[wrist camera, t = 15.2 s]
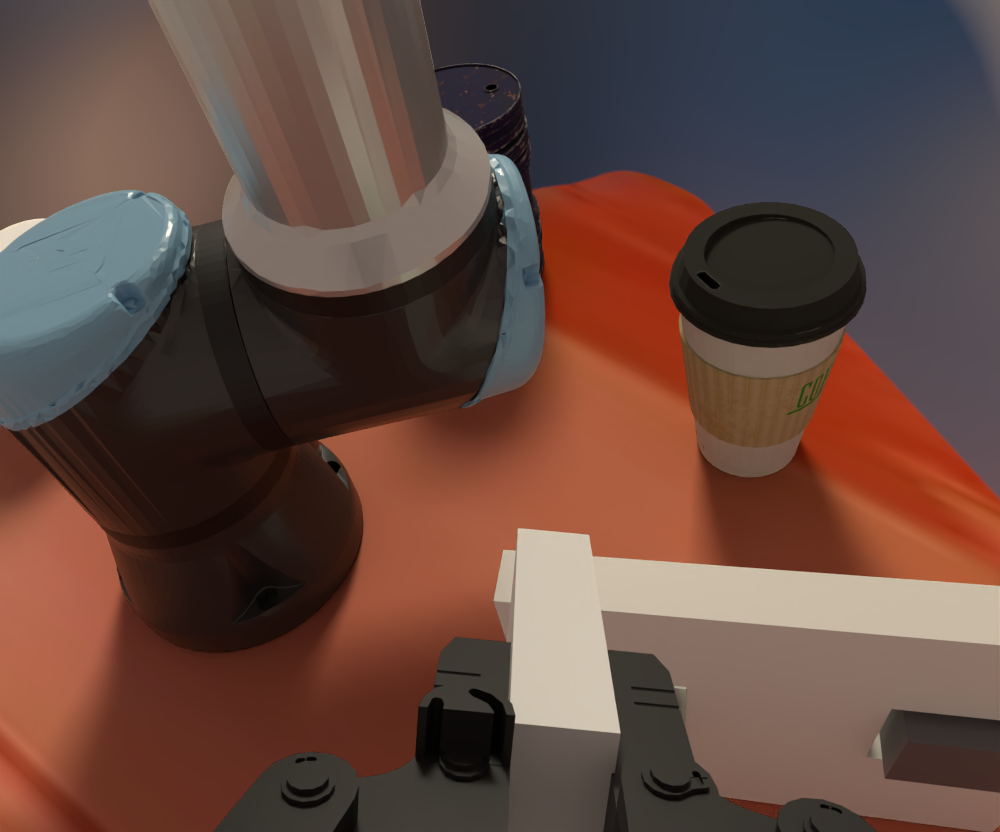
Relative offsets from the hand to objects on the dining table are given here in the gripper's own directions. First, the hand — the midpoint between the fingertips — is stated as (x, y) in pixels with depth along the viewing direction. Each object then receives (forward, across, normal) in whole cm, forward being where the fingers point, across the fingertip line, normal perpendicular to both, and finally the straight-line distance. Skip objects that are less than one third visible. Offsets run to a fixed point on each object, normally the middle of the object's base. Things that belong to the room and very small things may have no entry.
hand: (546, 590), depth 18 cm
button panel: (+20, +12, -17) cm, 29 cm away
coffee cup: (+35, +14, -6) cm, 39 cm away
